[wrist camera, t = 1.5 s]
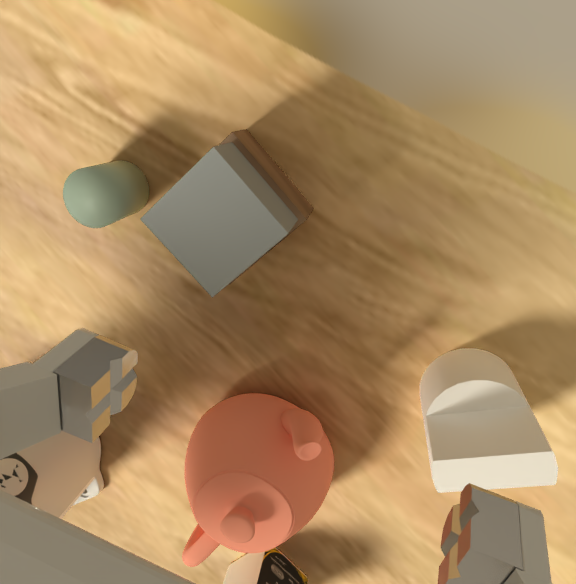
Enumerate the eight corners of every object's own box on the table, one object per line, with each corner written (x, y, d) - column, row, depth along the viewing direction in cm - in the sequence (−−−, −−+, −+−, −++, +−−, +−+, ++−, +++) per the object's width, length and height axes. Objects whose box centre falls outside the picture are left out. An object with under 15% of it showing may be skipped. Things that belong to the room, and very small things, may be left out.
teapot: (274, 326, 50) (244, 391, 39) (391, 416, 52) (395, 504, 40) (162, 458, 58) (110, 544, 47) (266, 533, 60) (240, 634, 48)
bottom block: (243, 267, 49) (229, 284, 44) (179, 195, 48) (157, 205, 43) (313, 207, 46) (306, 219, 41) (247, 129, 44) (232, 132, 40)
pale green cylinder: (126, 224, 49) (94, 239, 44) (89, 184, 48) (51, 195, 43) (159, 190, 47) (131, 202, 42) (122, 148, 47) (87, 154, 41)
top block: (229, 277, 44) (212, 297, 39) (165, 206, 43) (140, 218, 38) (298, 219, 41) (288, 233, 37) (232, 142, 40) (213, 146, 35)
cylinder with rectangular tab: (426, 433, 52) (439, 523, 41) (412, 354, 49) (423, 428, 38) (520, 424, 50) (561, 516, 39) (511, 341, 47) (554, 415, 36)
